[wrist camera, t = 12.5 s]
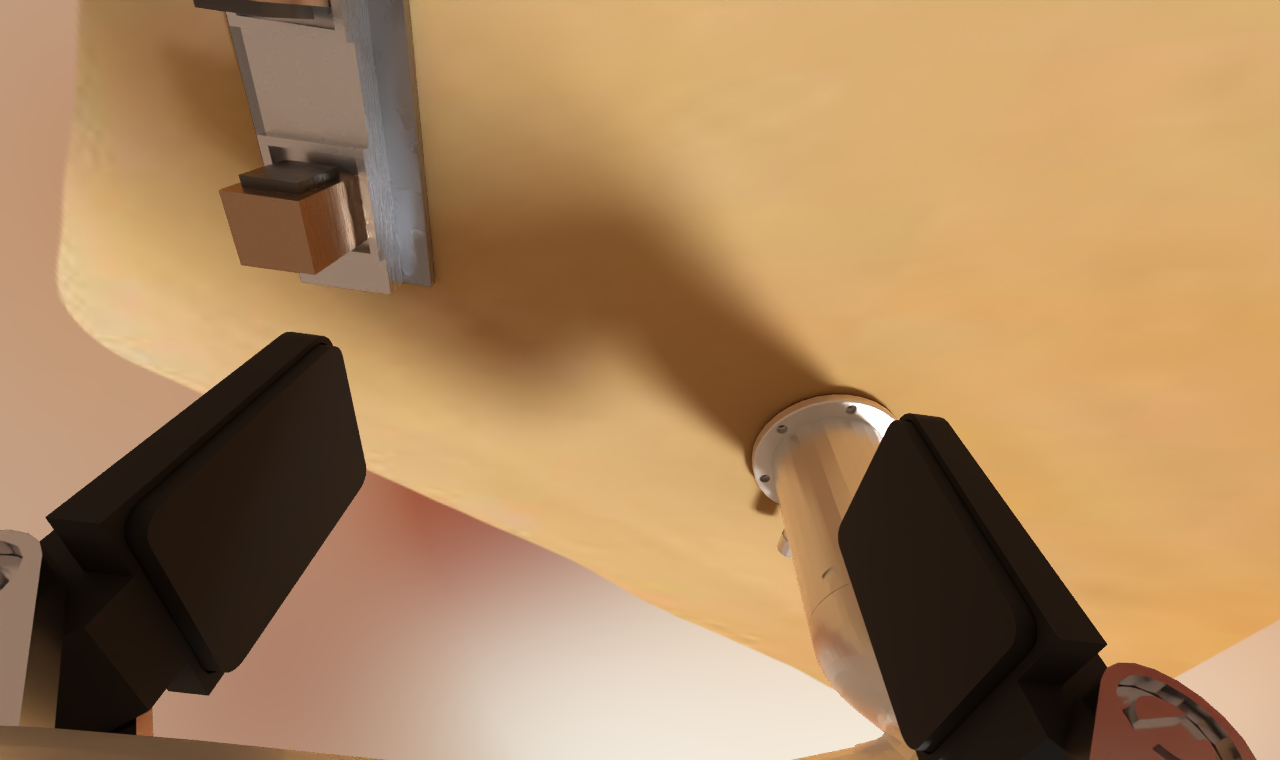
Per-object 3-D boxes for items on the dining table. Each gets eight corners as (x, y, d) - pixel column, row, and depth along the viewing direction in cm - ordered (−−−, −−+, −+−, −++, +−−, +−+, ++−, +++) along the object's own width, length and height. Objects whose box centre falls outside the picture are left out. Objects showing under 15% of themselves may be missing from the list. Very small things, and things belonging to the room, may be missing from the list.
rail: (435, 282, 39) (379, 340, 31) (296, 263, 38) (207, 318, 31) (392, -182, 25) (279, -270, 18) (180, -217, 25) (-22, -320, 18)
